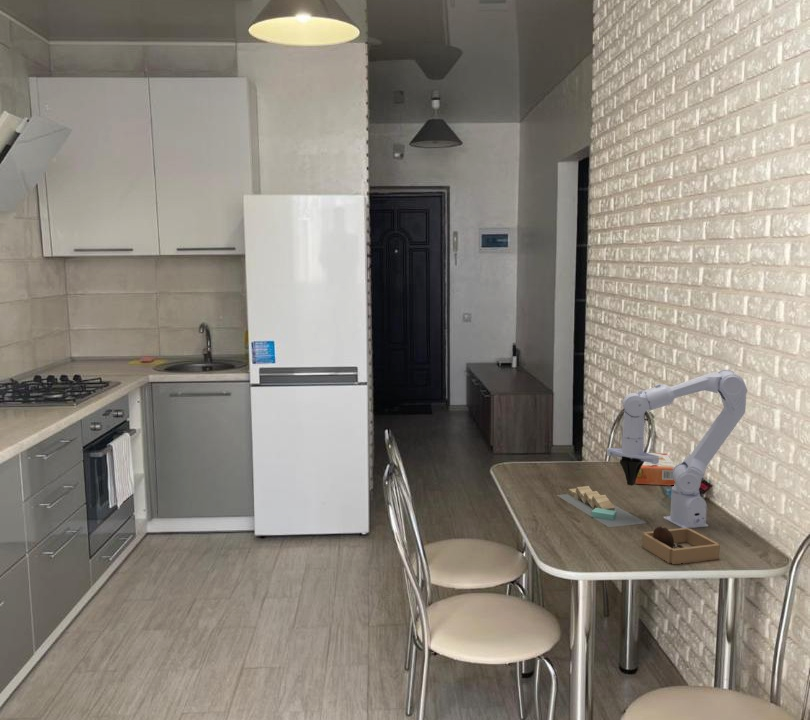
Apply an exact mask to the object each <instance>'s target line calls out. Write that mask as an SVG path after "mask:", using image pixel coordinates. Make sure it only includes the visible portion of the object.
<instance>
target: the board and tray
mask: <svg viewBox="0 0 810 720" xmlns="http://www.w3.org/2000/svg"><path fill="white" fill-rule="evenodd" d="M556 496H557V497H558V498H560V499H562V500H564V502H567V503H568V504H570V505H571V506H573V507H575V508H576V509H578V510H580V511H581V512H583V513H584V514H586V515H587V516H589V517H591V518H593V519H595V520H596V521H598V522H599V523H601V524H602V525H604V526H606V528H607V527H608V528H616V527H626V526H635V525H644V524H645V525H646V524H647V522H646V521H644V520H642V519H641V518H639V517H637V516H635V515H633V514H632V513H630V512H628V511H626V510H624V509H622V508H621V507H619V506H617V505H616V504H614V503H612V504H613V506H614V507H615V510H614V511H617V517H616V518H615V519H614V520H613V521H612V520H606V519H600V518H594V517H592V511H593V510H594V509H593V508H592V507H591V505H590V504H585V503H584V502H583V501H582V500H577V499H576V498H574V497H572V496H571V495H569V494H568V493H567V494H566V493H565V494H557V495H556ZM668 530H669V531H670V533H671V534H672V536H673V539H674V543H675V544H680V543H681V544H682V543H683V544H684V543H687V544H689V545H691V546H687V547H686V546H684V547H685V548H677V549H672V548H671V547H669V546H667V545H666V544H664V543H662V542H660V541H659V540H657V539H655V538H654V537H653V532H654V530H653V531H651V530H650V531H643V532H642V538H641V540H642V541H641V546H642V548H643V549H645V550H646V551H648V552H650V553H651V554H653V555H654V556H656V557H658V558H660V559H661V560H663V561H664V560H665V561H664V562H666V561H667V563H668V564H671V563H672V565H673V564H675V565H682V564H681V563H683V564H689V563H690V564H691V563H698V562H704V561H705V562H706V561H714V560H720V550H721V547H720V546H721V544H720V543H719V542H717V541H715V540H714V539H711V538H709V537H707V536H705V535H704V534H701V532H700V533H699V532H697V531H696V530H694V529H693V528H681V527H679V528H669V529H668Z"/></svg>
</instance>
